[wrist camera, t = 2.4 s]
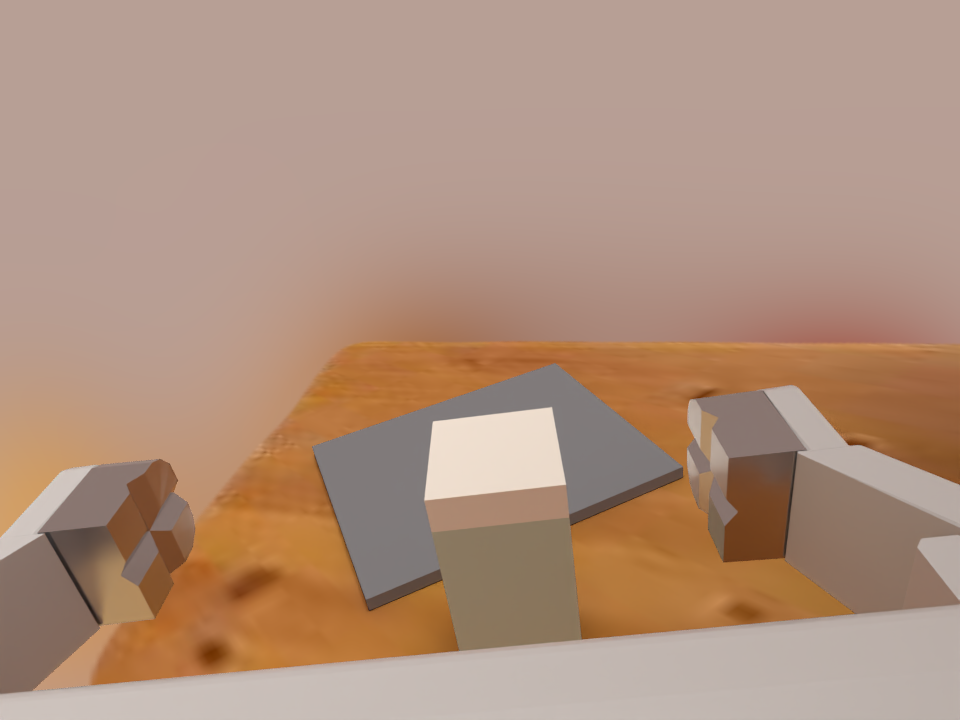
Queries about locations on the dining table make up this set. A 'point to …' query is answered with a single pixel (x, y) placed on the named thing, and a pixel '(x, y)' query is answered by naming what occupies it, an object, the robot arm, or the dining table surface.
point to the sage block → (503, 529)
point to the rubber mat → (404, 463)
